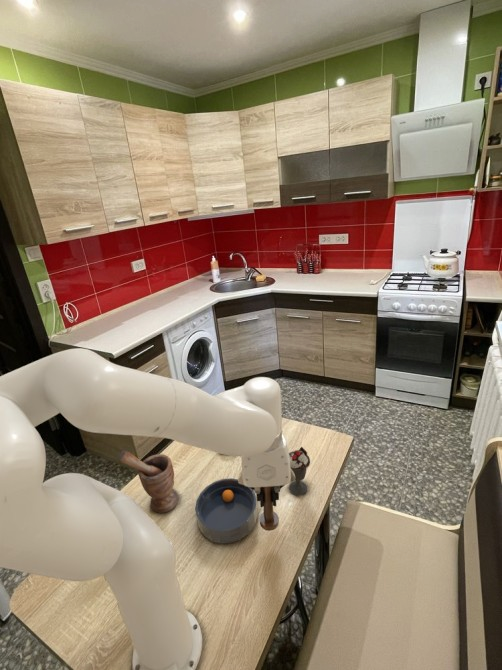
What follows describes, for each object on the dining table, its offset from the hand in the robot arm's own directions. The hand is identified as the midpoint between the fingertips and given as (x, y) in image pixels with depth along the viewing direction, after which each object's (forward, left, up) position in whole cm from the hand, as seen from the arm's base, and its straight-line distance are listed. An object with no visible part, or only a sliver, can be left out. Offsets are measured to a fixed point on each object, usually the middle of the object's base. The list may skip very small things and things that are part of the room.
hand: (268, 501), depth 77 cm
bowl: (+6, +11, -12) cm, 17 cm away
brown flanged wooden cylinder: (0, 0, -7) cm, 7 cm away
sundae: (+13, -8, -12) cm, 20 cm away
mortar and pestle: (+11, +30, -12) cm, 34 cm away
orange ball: (+11, +11, -10) cm, 18 cm away
